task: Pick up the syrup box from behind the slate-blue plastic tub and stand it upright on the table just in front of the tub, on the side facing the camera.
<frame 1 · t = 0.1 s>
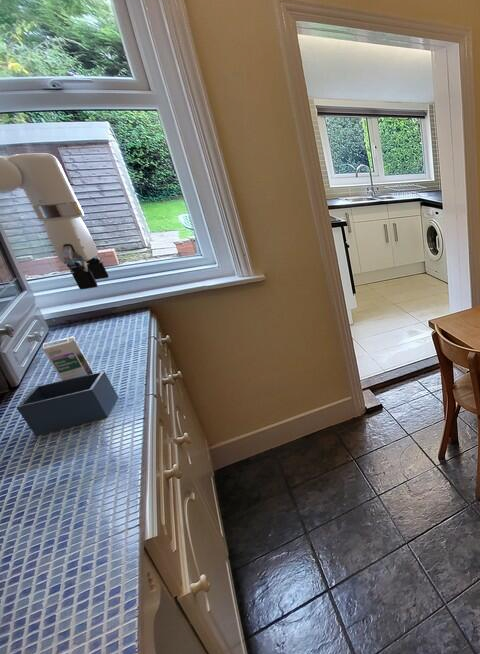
hand: (95, 283, 102), 27 cm above the worktop, tool pointing down, fingers open, 9 cm apart
tub: (79, 415, 97), on the worktop
syrup box: (87, 392, 107), on the worktop
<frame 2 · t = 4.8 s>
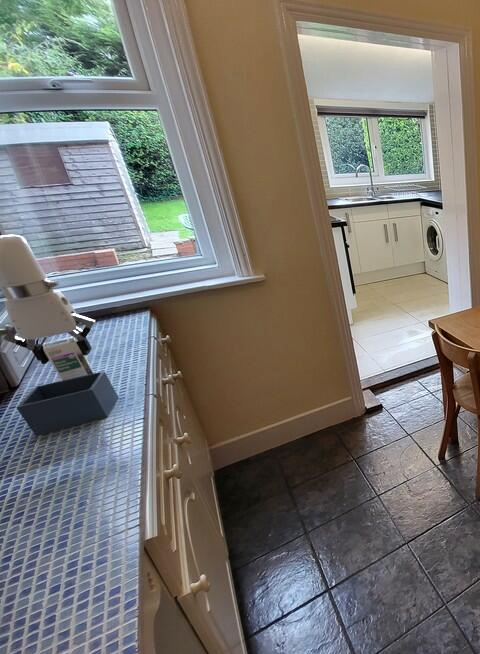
hand: (67, 357, 102), 10 cm above the worktop, tool pointing down, fingers closed on syrup box, 6 cm apart
syrup box: (87, 392, 107), on the worktop, touching gripper
when the fingers open (10 cm above the worktop, at t = 13.3 s): syrup box stays where it is, on the worktop.
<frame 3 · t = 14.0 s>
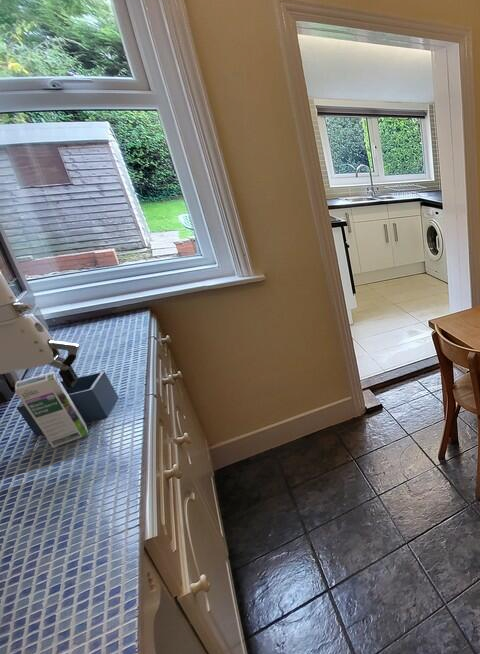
hand: (41, 391, 84), 12 cm above the worktop, tool pointing down, fingers open, 9 cm apart
syrup box: (71, 437, 89), on the worktop
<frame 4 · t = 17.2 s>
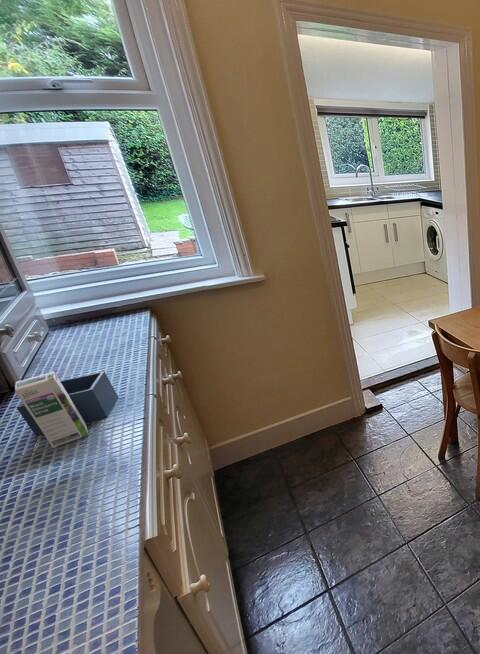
nothing on the worktop moved.
at the end: syrup box inside the target area (0.0 cm from its centre), on the worktop; syrup box tilted 0°; syrup box 10.1 cm from the tub (horizontally) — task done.
